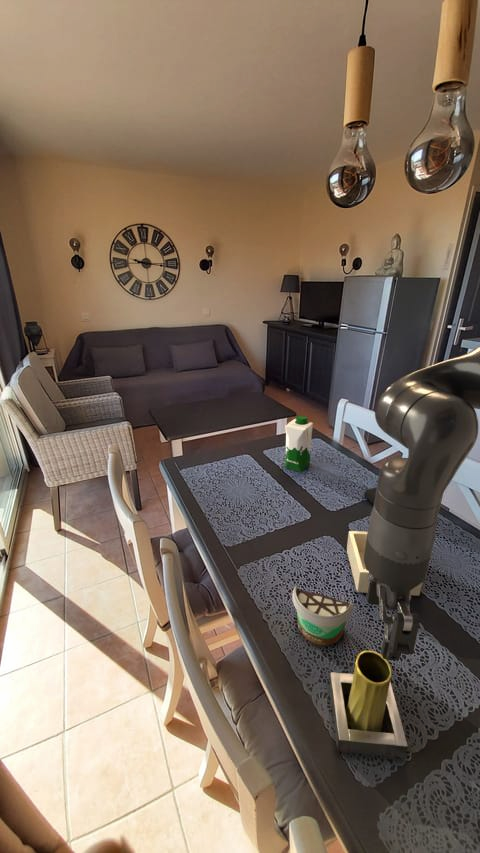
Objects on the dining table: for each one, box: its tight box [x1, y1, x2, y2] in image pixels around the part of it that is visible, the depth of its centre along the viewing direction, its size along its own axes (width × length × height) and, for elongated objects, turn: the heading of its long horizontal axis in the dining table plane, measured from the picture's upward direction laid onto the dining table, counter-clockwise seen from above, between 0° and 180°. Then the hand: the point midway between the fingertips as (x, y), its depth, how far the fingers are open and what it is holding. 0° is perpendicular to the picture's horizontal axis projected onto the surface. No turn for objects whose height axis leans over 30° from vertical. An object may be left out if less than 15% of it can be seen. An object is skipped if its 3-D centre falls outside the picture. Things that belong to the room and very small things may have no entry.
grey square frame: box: [328, 671, 409, 759], centre depth 61 cm, size 10×10×4 cm
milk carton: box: [284, 414, 314, 473], centre depth 134 cm, size 9×9×20 cm
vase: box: [345, 650, 393, 732], centre depth 58 cm, size 6×6×14 cm
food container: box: [291, 585, 354, 647], centre depth 73 cm, size 12×6×10 cm, turn 68°
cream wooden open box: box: [346, 530, 424, 597], centre depth 89 cm, size 14×14×7 cm
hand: (381, 627), depth 52 cm, fingers open, 8 cm apart
